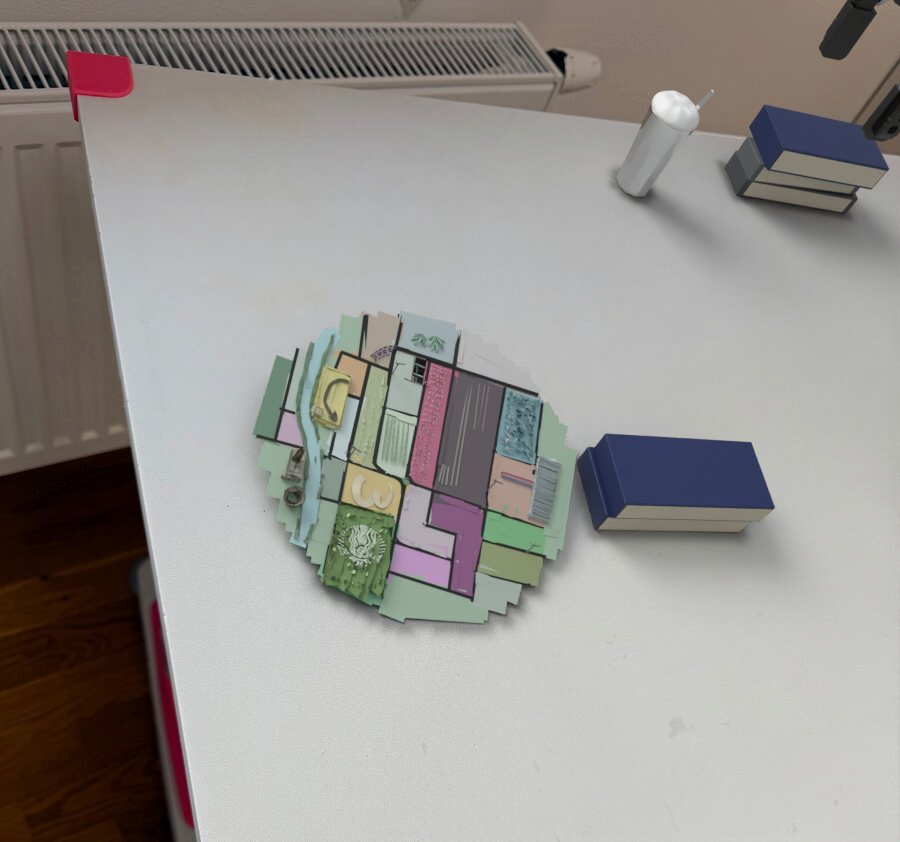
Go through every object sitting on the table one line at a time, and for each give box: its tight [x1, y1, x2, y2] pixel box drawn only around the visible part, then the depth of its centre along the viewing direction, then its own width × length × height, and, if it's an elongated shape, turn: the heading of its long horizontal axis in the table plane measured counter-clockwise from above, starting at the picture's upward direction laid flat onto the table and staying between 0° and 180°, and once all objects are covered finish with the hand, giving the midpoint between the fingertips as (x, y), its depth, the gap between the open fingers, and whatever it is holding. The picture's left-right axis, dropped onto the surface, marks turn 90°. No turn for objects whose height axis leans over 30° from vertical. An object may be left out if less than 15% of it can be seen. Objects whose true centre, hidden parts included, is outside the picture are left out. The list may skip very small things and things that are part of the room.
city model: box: [242, 310, 578, 624], centre depth 66 cm, size 25×24×6 cm
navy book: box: [748, 103, 890, 190], centre depth 96 cm, size 13×6×3 cm, turn 101°
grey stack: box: [724, 136, 861, 214], centre depth 98 cm, size 14×4×4 cm, turn 101°
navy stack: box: [576, 433, 776, 533], centre depth 73 cm, size 13×6×4 cm, turn 101°
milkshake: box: [616, 89, 715, 198], centre depth 88 cm, size 4×5×10 cm
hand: (850, 95), depth 69 cm, fingers open, 8 cm apart
